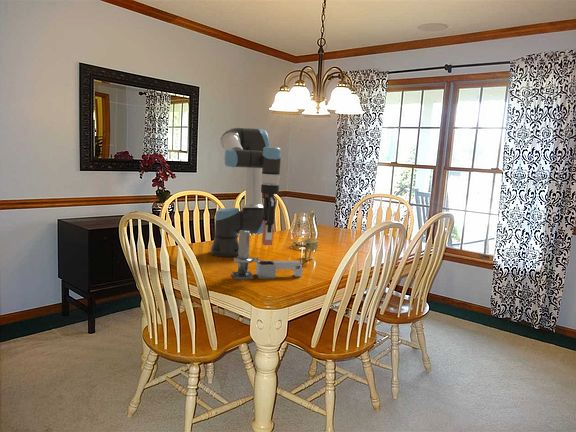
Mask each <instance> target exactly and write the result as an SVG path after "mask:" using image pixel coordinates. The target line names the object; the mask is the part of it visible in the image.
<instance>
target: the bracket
mask: <svg viewBox="0 0 576 432" xmlns="http://www.w3.org/2000/svg"><path fill="white" fill-rule="evenodd" d="M255 263H256V264H255V265H256V266H255V275H256V277H257V278H258V280H266V279H267V280H270V279H271V280H273V279H274V280H275V279H276V275H277V274H276V273H277V270H293V274H292V275H293V276H294V277H295V278H299V277H300V278H301V277H302V276H303V265H302V264H301V261H300V260H259V262H255Z"/></svg>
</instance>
